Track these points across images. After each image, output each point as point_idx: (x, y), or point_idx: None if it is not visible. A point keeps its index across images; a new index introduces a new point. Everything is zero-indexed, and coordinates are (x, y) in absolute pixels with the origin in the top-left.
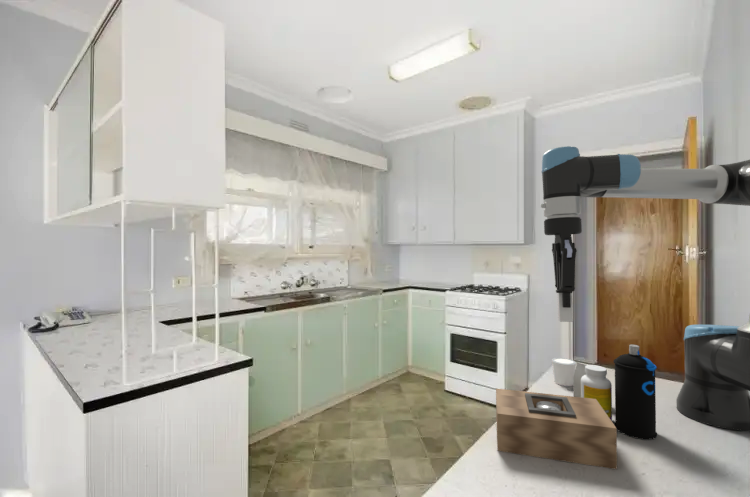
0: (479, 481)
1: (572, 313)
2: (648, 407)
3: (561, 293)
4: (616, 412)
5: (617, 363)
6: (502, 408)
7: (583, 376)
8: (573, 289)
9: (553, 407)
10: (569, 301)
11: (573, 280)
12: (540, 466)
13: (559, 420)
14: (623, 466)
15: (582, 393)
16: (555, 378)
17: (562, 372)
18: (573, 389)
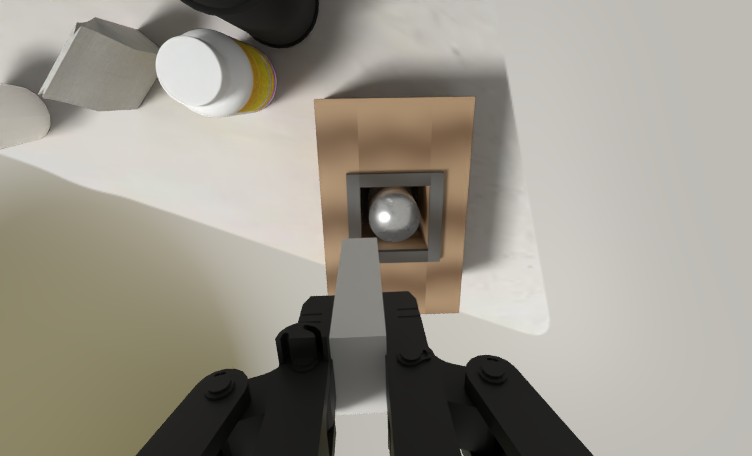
0: (527, 297)
1: (377, 258)
2: None
3: (385, 394)
4: (274, 39)
5: (242, 9)
6: (434, 304)
7: (205, 110)
8: (514, 373)
9: (399, 209)
10: (418, 319)
11: (580, 453)
12: (473, 218)
13: (463, 206)
14: (440, 81)
15: (237, 114)
16: (30, 140)
17: (18, 125)
18: (122, 109)
